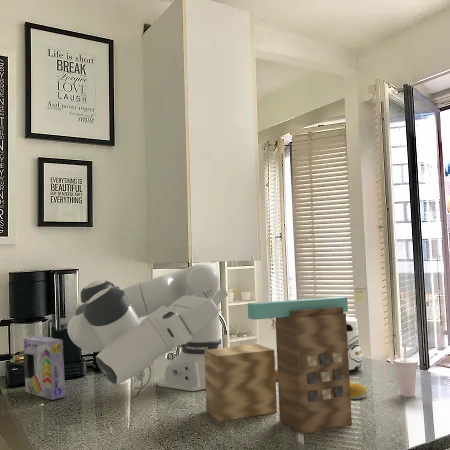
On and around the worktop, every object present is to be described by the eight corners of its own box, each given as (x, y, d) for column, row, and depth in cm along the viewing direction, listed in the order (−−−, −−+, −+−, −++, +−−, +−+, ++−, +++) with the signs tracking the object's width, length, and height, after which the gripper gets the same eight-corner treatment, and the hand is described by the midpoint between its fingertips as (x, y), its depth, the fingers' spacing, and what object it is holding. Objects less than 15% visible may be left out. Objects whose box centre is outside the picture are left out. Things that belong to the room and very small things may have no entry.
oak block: (220, 421, 117) (217, 356, 119) (206, 410, 126) (204, 349, 128) (277, 412, 123) (274, 349, 125) (260, 402, 133) (257, 344, 134)
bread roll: (357, 402, 130) (356, 387, 131) (330, 395, 137) (330, 381, 137) (374, 395, 136) (373, 381, 136) (347, 390, 142) (346, 376, 143)
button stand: (302, 434, 107) (296, 311, 109) (279, 420, 116) (274, 308, 119) (353, 424, 112) (347, 307, 114) (327, 412, 122) (322, 304, 124)
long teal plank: (254, 319, 109) (253, 304, 109) (248, 318, 112) (247, 303, 112) (348, 311, 119) (347, 297, 119) (339, 310, 122) (338, 296, 122)
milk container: (369, 375, 159) (366, 321, 160) (317, 376, 159) (314, 322, 160) (355, 364, 176) (353, 315, 177) (309, 365, 176) (306, 316, 178)
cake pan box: (22, 391, 153) (22, 336, 155) (37, 388, 157) (36, 334, 158) (50, 402, 140) (50, 341, 142) (66, 398, 144) (65, 339, 145)
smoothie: (420, 393, 136) (417, 343, 137) (419, 399, 130) (415, 347, 131) (396, 391, 139) (393, 342, 140) (394, 397, 133) (391, 346, 134)
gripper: (163, 333, 113) (209, 300, 118) (188, 345, 94) (242, 305, 99) (150, 311, 112) (196, 279, 117) (172, 318, 93) (227, 279, 98)
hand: (217, 291), depth 108 cm, fingers open, 8 cm apart
